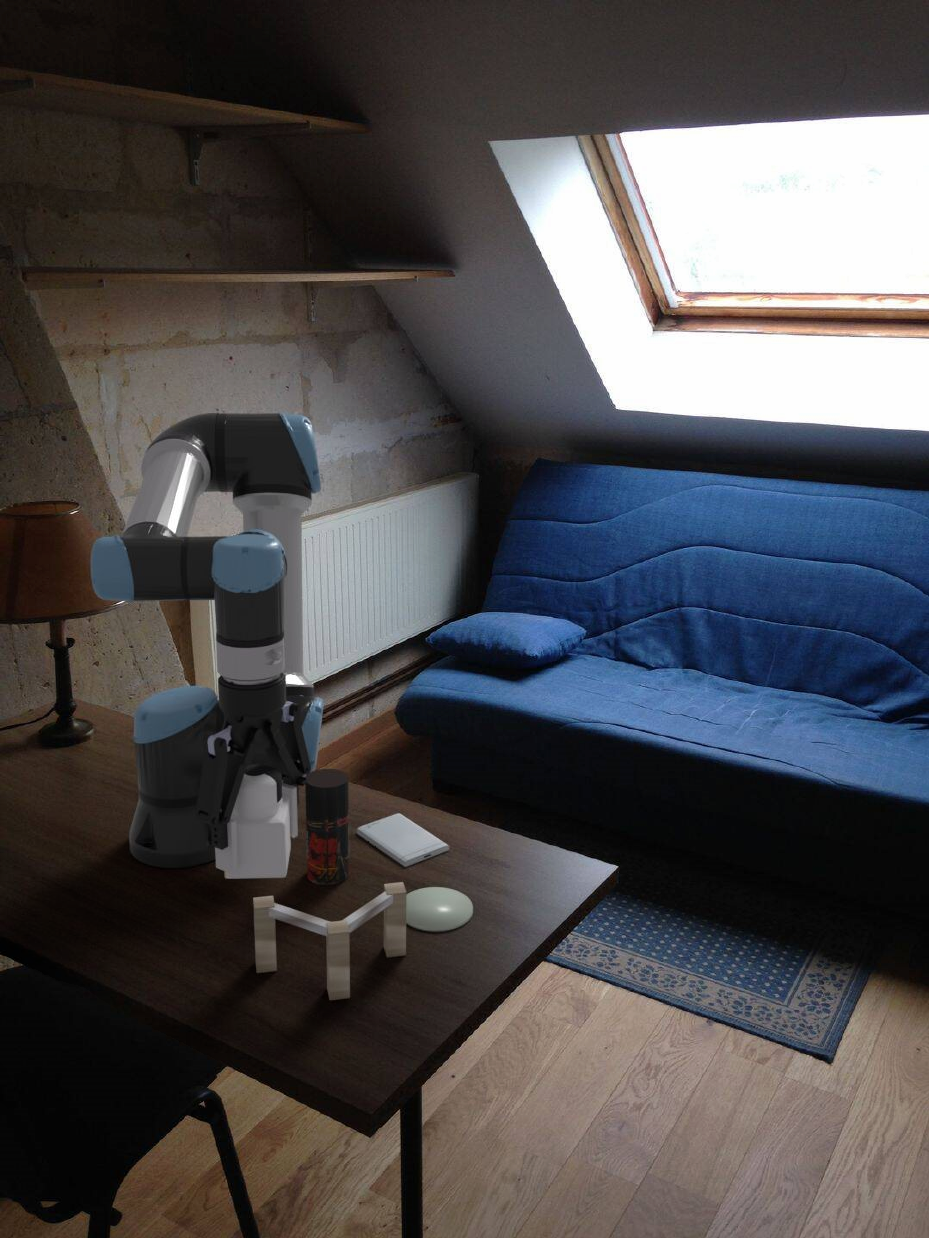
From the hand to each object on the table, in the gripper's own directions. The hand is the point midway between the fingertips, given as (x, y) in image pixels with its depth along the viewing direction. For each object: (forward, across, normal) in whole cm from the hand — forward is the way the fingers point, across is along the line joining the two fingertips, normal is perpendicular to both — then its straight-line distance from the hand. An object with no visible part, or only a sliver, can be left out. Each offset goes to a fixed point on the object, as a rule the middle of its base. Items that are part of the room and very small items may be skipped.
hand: (258, 851), depth 130 cm
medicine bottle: (+2, 0, 0) cm, 2 cm away
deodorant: (+16, +22, +7) cm, 28 cm away
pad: (+16, +22, -11) cm, 29 cm away
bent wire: (+16, +4, -8) cm, 18 cm away
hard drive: (+16, +35, +4) cm, 39 cm away
